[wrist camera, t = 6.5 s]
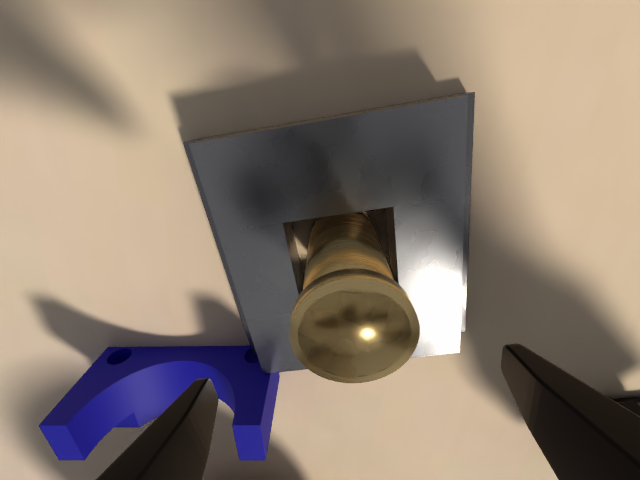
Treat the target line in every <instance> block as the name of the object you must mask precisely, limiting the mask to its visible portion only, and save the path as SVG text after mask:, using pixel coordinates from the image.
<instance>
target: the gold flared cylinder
mask: <svg viewBox="0 0 640 480" xmlns="http://www.w3.org/2000/svg"><path fill="white" fill-rule="evenodd" d="M419 336H420V325H419V320H418V317H417V314H416V312H415V309H414V307H413V304H412V302H411V300H410V298H409V296H408V294H407V293H406V291H405V290H404V289H403V288H402V287H401V286H400V285H399V284H398V283H397V282H396V281H394V279H393V276H392V273H391V271H390V268H389V265H388V263H387V260H386V258H385V255H384V252H383V250H382V247H381V244H380V242H379V239H378V237H377V234H376V231H375V229H374V227H373V225H372V224H371V222H370V221H369V220H368V219H367V218H366V217H365V216H363V215H362V214H360V213H358V212H353V213H347V214H340V215H333V216H326V217H321V218H320V219H319V220H318V221H317V222H316V223H315V224H314V226H313V227H312V230H311V232H310V236H309V243H308V251H307V259H306V268H305V276H304V284H303V291H302V292H301V293H300V295H299V296H298V298H297V300H296V302H295V304H294V307H293V310H292V316H291V323H290V329H289V338H290V344H291V347H292V349H293V351H294V353H295V355H296V357H297V358H298V359H299V361H300V362H301V363H302V364H303V365H304V366H305V367H306V368H308V369H309V370H310V371H312V372H313V373H315V374H317V375H319V376H321V377H323V378H326V379H329V380H332V381H337V382H343V383H362V382H369V381H373V380H377V379H380V378H382V377H385V376H387V375H389V374H391V373H393V372H394V371H396V370H397V369H399V368H400V367H401V366H403V365H404V364H405V363H406V362H407V361H408V359H409V358H410V357H411V356H412V354H413V352H414V351H415V349H416V347H417V344H418V341H419Z"/></svg>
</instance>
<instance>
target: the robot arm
mask: <svg viewBox="0 0 640 480" xmlns="http://www.w3.org/2000/svg"><path fill="white" fill-rule="evenodd" d="M501 369H502V373H503V375H504V377H505V379H506V382H507V384H508V386H509V388H510V390H511V392H512V394H513V397H514V399H515V401H516V403H517V405H518V407H519V410H520V412H521V414H522V416H523V418H524V420H525V422H526V424H527V426H528V428H529V430H530V432H531V433H532V435H533V437H534V439H535V440H536V442H537V444H538V445H539V447H540V449H541V450H542V452H543V454H544V456H545V457H546V459H547V461H548V462H549V464H550V466H551V467H552V469H553V471H554V473H555V474H556V476H557V478H558V479H559V480H640V397H639V398H628V399H617V400H612V399H610V398H608V397H607V396H605V395H603V394H602V393H600V392H598V391H597V390H595V389H593V388H592V387H590V386H588V385H587V384H585V383H583V382H582V381H580V380H579V379H577V378H575V377H574V376H572V375H570V374H569V373H567V372H565V371H564V370H562V369H560V368H559V367H557V366H555V365H554V364H552V363H550V362H549V361H547V360H545V359H544V358H542V357H541V356H539V355H537V354H536V353H534V352H532V351H531V350H529V349H527V348H526V347H524V346H522V345H520V344H509V345H505V346H504V347H503V350H502V360H501ZM217 406H218V395H217V393H216V390H215V388H214V386H213V383H212V381H211V379H209V378H201V379H196V380H195V381H194V382H193V383H192V384H191V385H190V386H189V387H188V388H187V389H186V390H185V391H184V392H183V393H182V394H181V395H180V396H179V397H178V398H177V399H176V400H175V401H174V402H173V403H172V404H171V405H170V406H169V407H168V408H167V409H166V410H165V411H164V412H163V413H162V414H161V415H160V416H159V417H158V418H157V419H156V420H155V421H154V422H153V423H152V424H151V425H150V426H149V427H148V428H147V429H146V430H145V431H144V432H143V433H142V434H141V435H140V436H139V437H138V438H137V439H136V440H135V441H134V442H133V443H132V444H131V445H130V446H129V447H128V448H127V449H126V450H125V451H124V452H123V453H122V454H121V455H120V456H119V457H118V458H117V459H116V460H115V461H114V462H113V463H112V464H111V465H110V466H109V467H108V468H107V469H106V470H105V471H104V472H103V473H102V474H101V475H100V476H99V477H98V478H97V479H96V480H202V477H203V473H204V469H205V466H206V462H207V458H208V454H209V449H210V444H211V439H212V433H213V428H214V422H215V417H216V411H217Z"/></svg>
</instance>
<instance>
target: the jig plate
mask: <svg viewBox="0 0 640 480" xmlns="http://www.w3.org/2000/svg"><path fill="white" fill-rule="evenodd" d="M474 98H475V92H468V93H462V94H456V95H450V96H445V97H439V98H433V99H427V100H422V101H416V102H410V103H404V104H398V105H393V106H387V107H381V108H375V109H370V110H364V111H358V112H352V113H347V114H341V115H335V116H329V117H323V118H318V119H312V120H306V121H300V122H295V123H289V124H283V125H277V126H272V127H266V128H260V129H254V130H248V131H243V132H237V133H231V134H225V135H220V136H214V137H208V138H202V139H197V140H191V141H187V142H184V146H185V150H186V153H187V156H188V159H189V162H190V165H191V168H192V171H193V174H194V177H195V180H196V183H197V186H198V189H199V192H200V195H201V198H202V201H203V204H204V207H205V210H206V213H207V216H208V219H209V222H210V225H211V228H212V231H213V234H214V237H215V240H216V243H217V246H218V249H219V252H220V255H221V258H222V261H223V264H224V267H225V270H226V273H227V276H228V280H229V283H230V286H231V289H232V292H233V295H234V298H235V301H236V304H237V307H238V310H239V313H240V316H241V319H242V322H243V325H244V328H245V331H246V334H247V337H248V340H249V343H250V346H251V349H252V352H253V355H257V356H258V359H259V362H260V365H261V369H262V372H263V374H266V373H275V372H284V371H294V370H303V369H308V368H306V367H305V366H304V365H303V364H302V363H301V362H300V361H299V359H298V358H297V357H296V355H295V353H294V351H293V349H292V347H291V344H290V338H289V329H290V323H291V316H292V310H293V307H294V304H295V302H296V300H297V298H298V296H299V295H300V293H301V292H302V291H303V284H304V280H303V275H302V270H301V266H300V261H299V256H298V252H297V247H296V242H295V238H294V233H293V228H292V224H291V222H292V221H299V220H306V219H313V218H319V217H326V216H333V215H340V214H347V213H353V212H360V211H367V210H374V209H381V208H386V221H387V233H388V246H389V259H390V271H391V273H392V276H393V279H394V281H396V282H397V283H398V284H399V285H400V286H401V287H402V288H403V289H404V290H405V291H406V293H407V294H408V296H409V298H410V300H411V302H412V304H413V307H414V309H415V312H416V314H417V317H418V320H419V325H420V336H419V341H418V344H417V347H416V349H415V351H414V352H413V354H412V356H411V357H410V358H415V357H424V356H433V355H443V354H452V353H460V332H462V331H465V323H466V298H467V273H468V248H469V223H470V198H471V173H472V148H473V123H474Z"/></svg>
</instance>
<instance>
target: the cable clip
mask: <svg viewBox="0 0 640 480" xmlns="http://www.w3.org/2000/svg"><path fill="white" fill-rule="evenodd" d="M201 378H209V379H211V381H212V383H213V386H214V388H215V390H216V393H217V395H218V399H220V400H222V401H223V402H225V403H226V404H227V405H228V406H229V407H230V408H231V409H232V410H233V412H234V413H235V414H234V420H233V424H232V427H233V432H234V436H235V441H236V446H237V450H238V455H239V460H266V456H267V450H268V444H269V438H270V432H271V426H272V420H273V413H274V407H275V401H276V395H277V389H278V383H279V372H275V373H266V374H263V372H262V369H261V365H260V362H259V359H258V356H257V355H253V352H252V349H251V346H179V347H108V348H107V349H106V350H105V351H104V352H103V353H102V355H101V356H100V357H99V358H98V359H97V360H96V361H95V362H94V364H93V365H92V366H91V367H90V368H89V369H88V370H87V371H86V373H85V374H84V375H83V376H82V377H81V378H80V379H79V381H78V382H77V383H76V384H75V385H74V386H73V387H72V388H71V390H70V391H69V392H68V393H67V394H66V395H65V396H64V397H63V399H62V400H61V401H60V402H59V403H58V404H57V405H56V407H55V408H54V409H53V410H52V411H51V412H50V413H49V414H48V416H47V417H46V418H45V419H44V420H43V421H42V422H41V424H40V425H39V427H40V429H41V431H42V432H43V434H44V436H45V437H46V439H47V441H48V442H49V444H50V446H51V447H52V449H53V451H54V452H55V454H56V456H57V457H58V459H59V460H85V459H86V458H87V456H88V455H89V454H90V452H91V451H92V450H93V448H94V447H95V446H96V445H97V444H98V442H99V441H100V440H101V439H102V438H103V437H104V436H105V435H106V434H107V433H108V432H109V431H110V430H111V429H112V428H114V427H141V426H142V425H144V424H146V423H147V422H149V421H151V420H153V419H155V418H157V417H159V416H160V415H161V414H162V413H163V412H164V411H165V410H166V409H167V408H168V407H169V406H170V405H171V404H172V403H173V402H174V401H175V400H176V399H177V398H178V397H179V396H180V395H181V394H182V393H183V392H184V391H185V390H186V389H187V388H188V387H189V386H190V385H191V384H192V383H193V382H194V381H195V380H196V379H201Z"/></svg>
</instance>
